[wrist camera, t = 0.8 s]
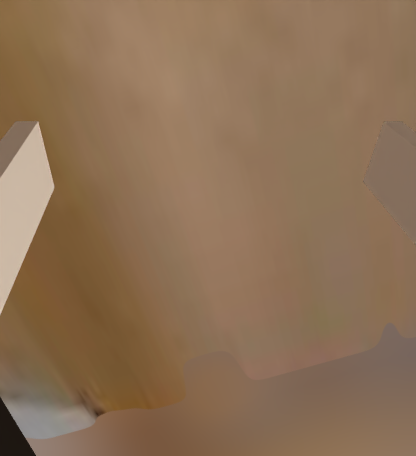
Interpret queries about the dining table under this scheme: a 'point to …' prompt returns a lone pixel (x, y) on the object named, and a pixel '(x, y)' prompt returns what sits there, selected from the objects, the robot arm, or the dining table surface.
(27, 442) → the robot arm
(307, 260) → the dining table surface
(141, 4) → the dining table surface
